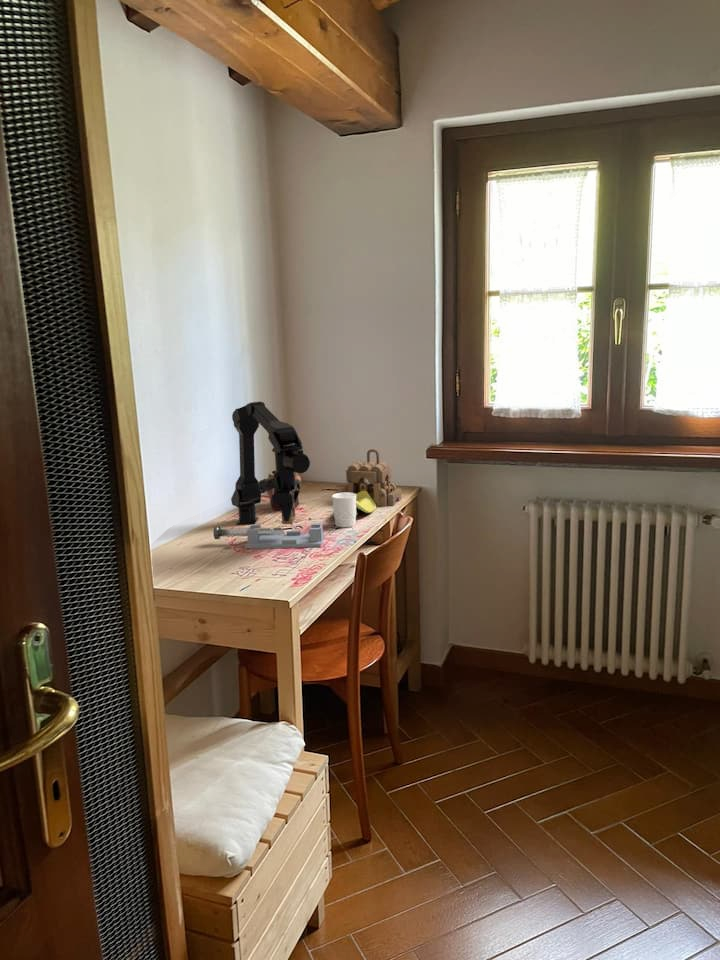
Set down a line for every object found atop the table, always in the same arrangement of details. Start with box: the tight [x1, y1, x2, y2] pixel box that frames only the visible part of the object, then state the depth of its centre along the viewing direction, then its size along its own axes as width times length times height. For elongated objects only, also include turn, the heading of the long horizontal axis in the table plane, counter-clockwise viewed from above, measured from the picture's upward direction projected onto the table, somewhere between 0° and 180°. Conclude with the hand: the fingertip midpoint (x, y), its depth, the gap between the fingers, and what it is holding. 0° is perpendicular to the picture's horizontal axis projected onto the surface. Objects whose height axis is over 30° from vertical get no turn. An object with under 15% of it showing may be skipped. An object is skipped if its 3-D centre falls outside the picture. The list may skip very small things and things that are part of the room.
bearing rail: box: [244, 522, 325, 549], centre depth 225 cm, size 10×23×5 cm, turn 86°
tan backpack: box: [335, 448, 402, 508], centre depth 268 cm, size 22×15×19 cm, turn 69°
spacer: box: [281, 502, 296, 525], centre depth 223 cm, size 7×3×6 cm, turn 176°
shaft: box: [213, 525, 284, 540], centre depth 225 cm, size 4×21×4 cm, turn 86°
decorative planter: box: [266, 469, 302, 511], centre depth 263 cm, size 20×12×14 cm, turn 168°
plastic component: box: [356, 491, 377, 516], centre depth 254 cm, size 20×7×10 cm
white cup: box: [331, 492, 357, 528], centre depth 240 cm, size 8×8×10 cm
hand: (288, 517), depth 224 cm, fingers closed on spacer, 7 cm apart
